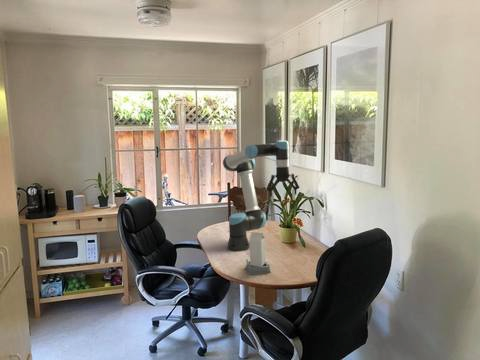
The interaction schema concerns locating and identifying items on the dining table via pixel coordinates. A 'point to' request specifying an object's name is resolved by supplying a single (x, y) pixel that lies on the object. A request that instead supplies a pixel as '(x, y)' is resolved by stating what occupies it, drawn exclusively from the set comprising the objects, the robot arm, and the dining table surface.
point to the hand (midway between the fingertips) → (283, 200)
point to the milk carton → (257, 249)
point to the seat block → (257, 268)
